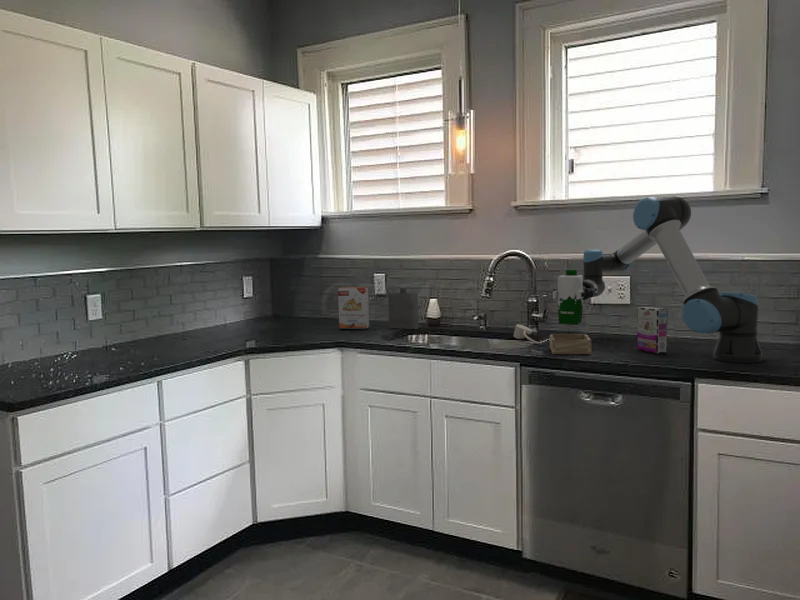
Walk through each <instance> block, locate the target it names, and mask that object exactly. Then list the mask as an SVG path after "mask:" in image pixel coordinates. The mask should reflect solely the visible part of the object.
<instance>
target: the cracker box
mask: <svg viewBox="0 0 800 600" xmlns="http://www.w3.org/2000/svg"><path fill="white" fill-rule="evenodd" d="M337 295H338V296H337V297H338V299H337V301H338V325H339V328H368V327H369V328H370V312H369V311H370V308H369V287H368V286H359V287H358V286H350V287H349V286H347V287H345V286H344V287H343V286H340V287H339V288H338V290H337ZM339 328H338V329H339Z"/></svg>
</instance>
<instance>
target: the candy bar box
mask: <svg viewBox="0 0 800 600" xmlns="http://www.w3.org/2000/svg"><path fill="white" fill-rule="evenodd" d="M668 315H669V313H668V308H662V307H654V306H638V307H637V316H636V319H637V320H636V321H637V322H636V323H637V325H636V326H637V328H636V329H637V330H636V333H637V334H636V342H637V343H636V344H637V345H636V349H637V350H638V351H642V350H643V351H644V352H647V353H653V354H657V355H658V354H666V353H668Z"/></svg>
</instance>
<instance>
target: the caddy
mask: <svg viewBox="0 0 800 600" xmlns="http://www.w3.org/2000/svg"><path fill="white" fill-rule="evenodd" d="M549 339H550V340H549V349H551V350H550V351H552V352H551V355H553V354H591V355H592V339H591V338H590V336H589V335H588V334H587V333H580V334H579V333H569V334H568V333H561V334H559V333H558V334H555V333H553V334H552V333H551V334H549Z"/></svg>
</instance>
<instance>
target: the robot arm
mask: <svg viewBox="0 0 800 600" xmlns="http://www.w3.org/2000/svg"><path fill="white" fill-rule="evenodd" d="M691 217H692V209H691V206H690V204H689V202H688V201H687V200H686V199H684V198H682V197H680V196H653V195H652V196H646V197H645V196H644V197H642V198H641V199H639V201H638V202H636V205H635V206H634V210H633V215H632V219H633V223H634V225H635V227H636V228H638V229H639V230H641V231H640V232H639V233H637V234H636V235H634V236H633V237H632V238H631V239H629V240H628V241H627V242H626V243H624V244H623V245H622V246H621V247H619V248H618V249H617V250H616V251H614V252H611V253H603V249H586V250H584V251H583V256H582V257H583V259H582V263H583V277H582V280H583V290H582V291H578V292H576V299H581V298H583V301H589V299H591V298H594V297H599V296H600V295H602V294H603V293H604V291H605V289H606V283H605V281H604V280H603V273H606V272H608V273H609V272H624V271H628V270H629V269H630V268H631V267H632V265H633V262H634V261H635V260H637V259H638V258H639V257H641V256H642V255H644V254H645V253H646V252H648V251H649V250H650V249H652V248H653V247H654V246H656V245H658V248H659V249H660V251H661V253H662V255H663V257H664V259H665V261H666V262H667V264H668V266H669V269H670V270H671V272H672V274H673V276H674V278H675V280H676V282H677V283H678V286H679V288H680V289H681V292H682V294H683V295H684V299H683V300H682V304H683V308H682V312H683V313H681V314H682V319H683V321H684V323H685V326H687V328H688V329H690V331H692V332H695V333H697V334H715V333H719V336H718V339H717V341H716V345H715V348H714V349H713V359H715V360H717V361H721V362H727V363H739V364H745V363H746V364H750V363H751V364H752V363H753V364H754V363H759V362H762V361H763V352H762V349H761V346H760V343H759V339H758V318H759V317H758V316H759V314H758V313H759V301H758V300H759V298H758V296H757V295H755V294H751V293H742V292H741V293H740V292H730V291H722V292H719V290H718V288H717V287H716V286H712V285H710V284H709V281H708V279H707V278H706V276H705V274H704V273H703V270H702V269H701V267H700V265H699V263H698V261H697V259H696V258H695V255H694V254H693V252H692V250H691V249H690V246H689V245H688V243H687V241H686V239H685V238H684V236H683V234H682V231H681V230H682V229H683V228H684V227H685V226H687V225H688V224H689V222H690V219H691ZM552 299H553V300H554V299H558V288H556V289H555V288H554V289H552Z"/></svg>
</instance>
